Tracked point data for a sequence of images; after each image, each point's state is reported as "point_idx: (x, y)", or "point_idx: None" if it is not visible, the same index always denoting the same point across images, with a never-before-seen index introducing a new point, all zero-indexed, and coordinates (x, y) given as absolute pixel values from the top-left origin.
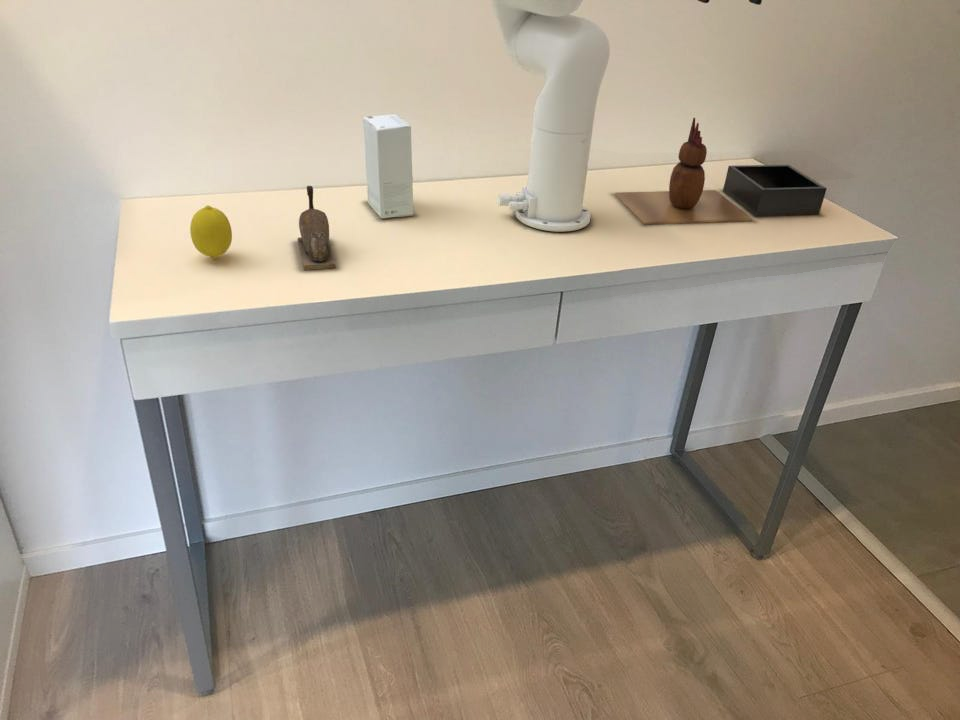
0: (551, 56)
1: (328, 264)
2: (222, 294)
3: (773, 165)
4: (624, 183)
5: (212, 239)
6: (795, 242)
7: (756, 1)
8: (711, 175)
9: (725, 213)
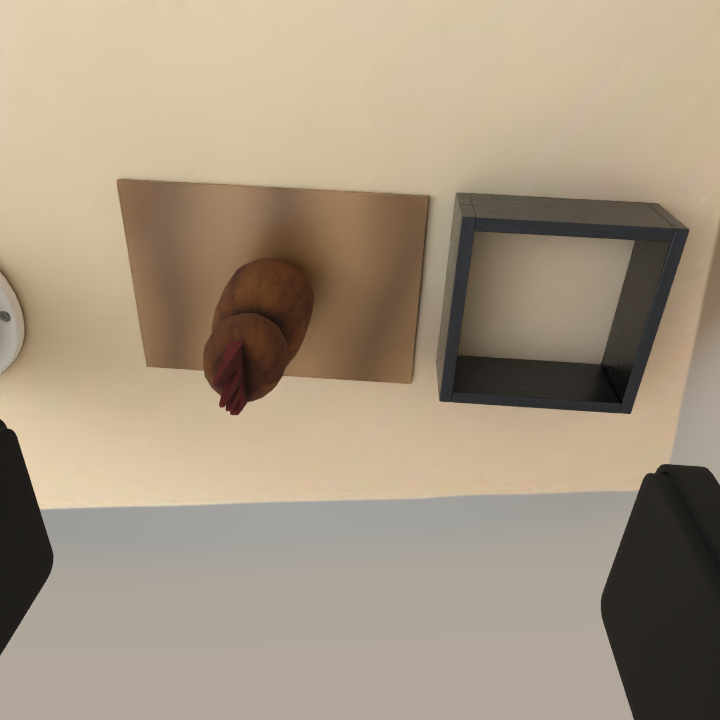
0: None
1: None
2: None
3: (624, 232)
4: (168, 85)
5: None
6: (439, 477)
7: (606, 612)
8: (510, 36)
9: (363, 349)
